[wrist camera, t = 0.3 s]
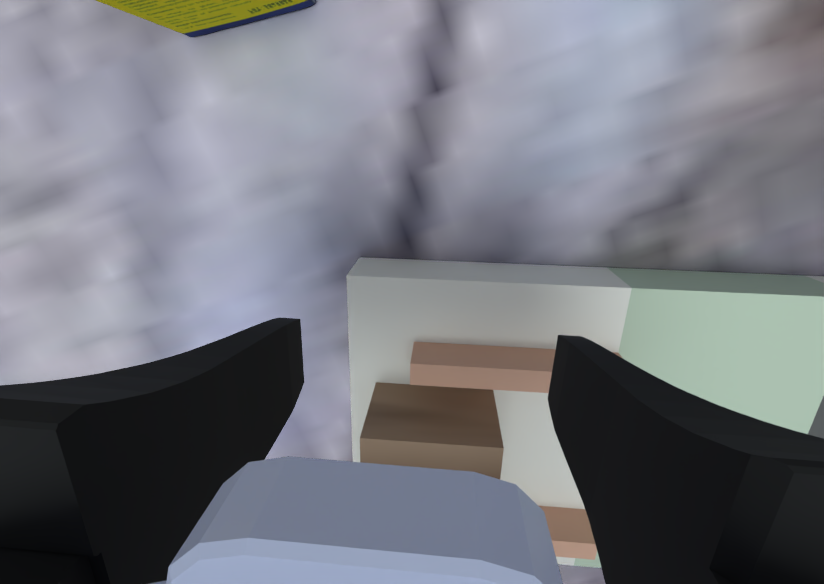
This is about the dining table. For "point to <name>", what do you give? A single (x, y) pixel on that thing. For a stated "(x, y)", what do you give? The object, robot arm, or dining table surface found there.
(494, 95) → the dining table surface
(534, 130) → the dining table surface
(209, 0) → the supplement box
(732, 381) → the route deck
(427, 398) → the walnut block
